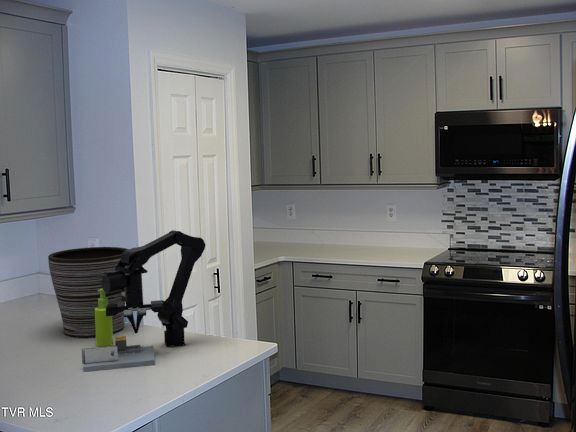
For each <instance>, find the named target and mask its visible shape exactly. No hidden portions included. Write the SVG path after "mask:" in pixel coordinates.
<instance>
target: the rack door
mask: <svg viewBox="0 0 576 432" xmlns="http://www.w3.org/2000/svg"><path fill="white" fill-rule="evenodd" d="M85 356H86V363H93V362H104V361H114V360H118V351H117V346H116V345H110V346H105V347H100V346H96V347H88V348H86V347H85Z"/></svg>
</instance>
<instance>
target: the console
mask: <svg viewBox="0 0 576 432" xmlns="http://www.w3.org/2000/svg"><path fill="white" fill-rule="evenodd" d="M85 349H86V347H85V348H84V347H83V348H81V361H82V362H81V363H82V365H83V366H82V367H83V369H82V370H83V372H94V371H103V370H114V369H123V368H124V369H125V368H136V367H144V366H146V367H147V366H155V365H156V362H155V361H156V360H155V353H154V351H155V350H154V346H153V345H149V346H147V345H146V346H141V344H134V345H133V344H131V345H127V350H124V351H118V360H114V361H104V362H93V363H86V352H85Z"/></svg>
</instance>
